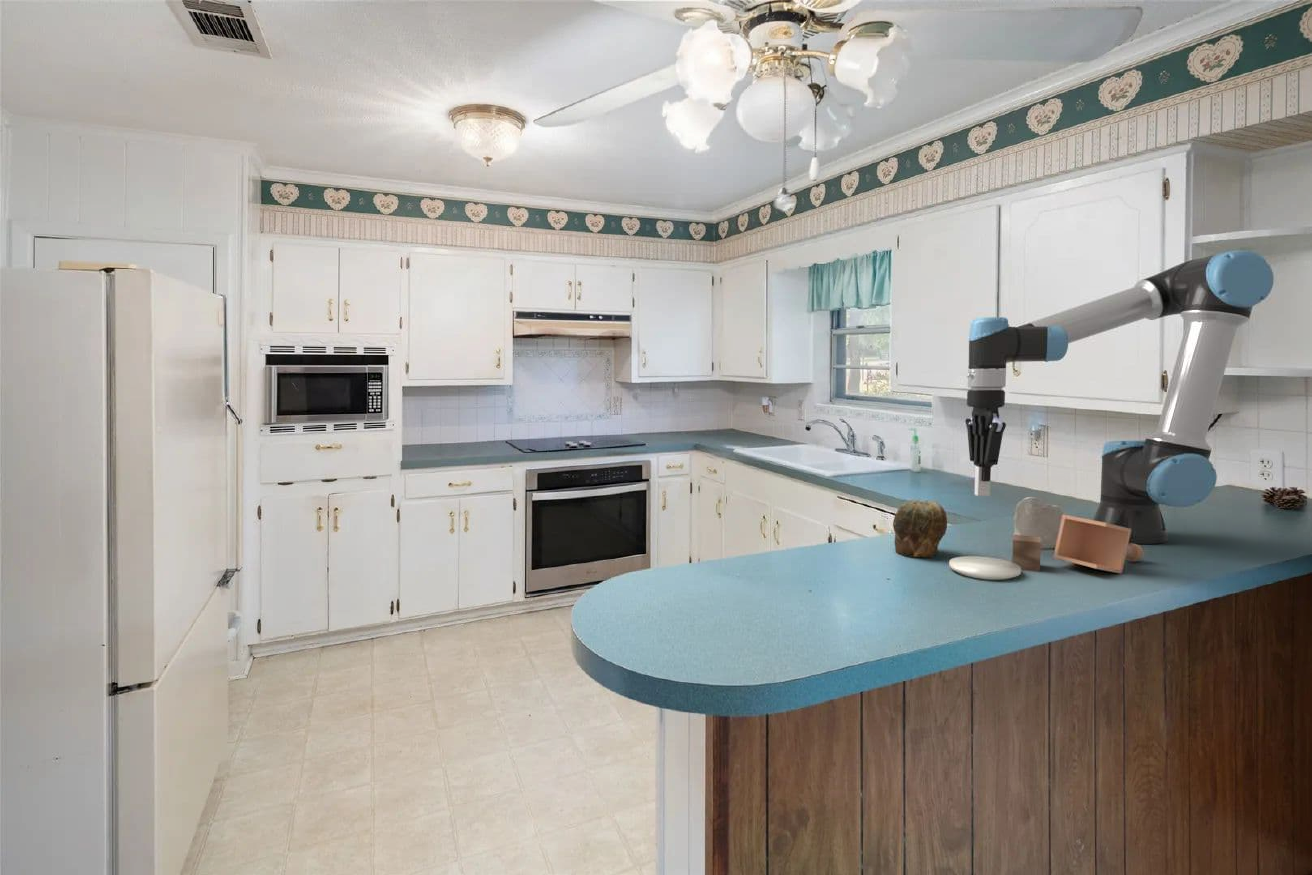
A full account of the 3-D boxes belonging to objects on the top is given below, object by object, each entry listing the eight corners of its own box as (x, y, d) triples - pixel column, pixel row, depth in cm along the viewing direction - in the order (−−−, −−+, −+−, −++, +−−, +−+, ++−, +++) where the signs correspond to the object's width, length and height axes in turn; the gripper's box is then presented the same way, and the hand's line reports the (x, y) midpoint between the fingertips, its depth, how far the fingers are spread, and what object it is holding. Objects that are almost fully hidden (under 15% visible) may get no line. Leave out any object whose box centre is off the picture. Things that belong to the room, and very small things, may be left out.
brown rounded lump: (938, 563, 146) (939, 506, 145) (886, 555, 153) (887, 501, 151) (952, 552, 155) (953, 498, 153) (902, 545, 161) (903, 494, 160)
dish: (998, 561, 146) (998, 555, 146) (1035, 580, 133) (1035, 573, 133) (937, 563, 146) (938, 557, 145) (968, 582, 133) (968, 575, 133)
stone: (1055, 544, 160) (1058, 494, 159) (1064, 550, 155) (1067, 498, 154) (1008, 542, 162) (1010, 493, 161) (1015, 548, 157) (1018, 497, 156)
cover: (1053, 557, 142) (1112, 569, 150) (1096, 568, 134) (1156, 580, 142) (1062, 514, 142) (1121, 528, 150) (1106, 522, 134) (1165, 537, 142)
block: (1039, 565, 143) (1040, 536, 143) (1039, 571, 139) (1041, 542, 138) (1012, 562, 146) (1013, 534, 145) (1011, 568, 141) (1012, 539, 141)
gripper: (955, 388, 159) (951, 490, 161) (984, 389, 146) (980, 500, 148) (987, 388, 159) (983, 489, 162) (1019, 389, 146) (1014, 500, 149)
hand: (982, 494), depth 155 cm, fingers closed
